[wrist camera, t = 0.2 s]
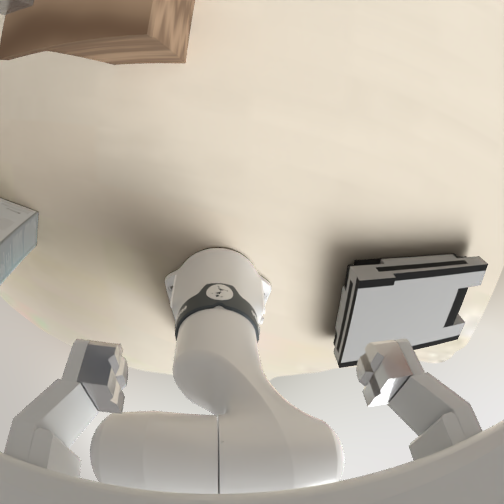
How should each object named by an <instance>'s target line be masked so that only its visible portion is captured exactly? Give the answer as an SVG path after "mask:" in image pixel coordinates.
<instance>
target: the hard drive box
mask: <svg viewBox="0 0 504 504" xmlns="http://www.w3.org/2000/svg"><path fill="white" fill-rule="evenodd" d="M37 228H38V212H37V211H34V210H31V209H28V208H26V207H23V206H21V205H18V204H15V203H12V202H10V201H7V200H4V199H2V198H0V285H1V284H2V283H3V282H4V281H5V279H6V278H7V277H8V276H9V275H10V274H11V273H12V271H13V270H14V269H15V268H16V267H17V266H18V265H19V264H20V263H21V261H22V260H23V259H24V258H25V257H26V256H27V255H28V254H29V253H30V252H31V251H32V250H33V249H34V248H35V247H36V245H37Z"/></svg>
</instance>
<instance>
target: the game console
mask: <svg viewBox="0 0 504 504" xmlns="http://www.w3.org/2000/svg"><path fill="white" fill-rule="evenodd" d="M487 265H488V263H486V262H485V261H484V260H483V259H482V258H481V257H479V256H477V257H466V256H465V257H458V256H456V255H455V254H444V255H429V256H415V257H400V258H384V259H368V260H355V262H354V265H348V268H347V274H346V281H345V286H343V288H342V294H341V300H340V306H339V311H338V316H337V321H336V327H335V329H336V334H335V339H334V345H335V348H334V354H335V357H336V360H337V362H338V365H339V368H341V367H348V366H354V365H357V362H358V360H359V358H360V357H361V356H362V355H364V354H365V353H366V352H365V347H366V346H367V344H369V343H370V342H378V341H386V340H397V339H407V340H408V341H409V342H410V344H411V346H412V348H413V350H415V349H420V348H424V347H429V346H433V345H437V344H441V343H445V342H449V341H453V340H456V339H458V337H459V335H460V333H461V331H462V329H463V326H464V324H465V322H464V321H463V319H462V318H461V317H460V316H459V314H458V312H459V310H460V307H461V305H462V302H463V300H464V297H465V295H466V292H467V289H468V287H472V286H478V285H481V283H482V280H483V277H484V274H485V271H486V268H487Z"/></svg>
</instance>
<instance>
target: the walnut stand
mask: <svg viewBox="0 0 504 504" xmlns="http://www.w3.org/2000/svg"><path fill="white" fill-rule="evenodd" d="M194 3H195V0H34V4H33V6H30V7H27V8H24V9H21V10H18V11H15V12H12V13H10V14H7V15H6V16H5V21H4V26H3V31H2V37H1V43H0V60H10V59H14V58H18V57H22V56H26V55H30V54H34V53H38V52H43V51H52V52H58V53H64V54H69V55H74V56H79V57H84V58H88V59H93V60H97V61H101V62H105V63H110V64H114V65H116V64H135V63H186V55H187V48H188V40H189V34H190V27H191V21H192V15H193V9H194Z"/></svg>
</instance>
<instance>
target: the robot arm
mask: <svg viewBox="0 0 504 504" xmlns="http://www.w3.org/2000/svg"><path fill="white" fill-rule="evenodd" d="M165 286H166V290H167V293H168V297H169V301H170V307H171V308H172V312H173V316H174V319H175V323H176V324H175V328H176V329H175V336H176V341H177V342H176V349H175V356H174V362H173V377H174V379H175V382H176V384H177V386H178V388H179V389H180V390H181V391H182V393H183V394H184V395H185V396H186V397H187V398H188V399H189V400H190V401H191V402H193V403H194V404H196V405H198V406H200V407H202V408H204V409H205V410H207V411H209V412H211V413H212V414H214V415H198V414H184V413H172V412H162V411H139V412H122V410H123V404H124V398H125V397H124V394H123V392H122V389H123V388H124V387H125V386H126V385H127V380H128V366H127V362H126V359H125V358H124V357H123V356H122V352H123V350H122V347H121V344H115V343H106V342H99V341H91V340H84V339H76V341H75V342H74V343H73V346H72V349H71V352H70V355H69V358H68V361H67V364H66V367H65V370H64V373H63V376H62V379H57V380H56V381H55V382H53V383H52V384H51V385H50V386H49V387H48V388H47V389H46V390H44V391H43V392H42V393H41V394H40V395H39V396H38V397H37V398H35V399H34V400H33V401H32V402H31V403H30V404H29V405H28V406H26V407H25V408H24V409H23V410H22V411H21V412H20V413H19V414H18V415H17V416H15V417H14V419H13V421H12V425H11V428H10V432H9V435H8V439H7V443H6V447H5V452H4V453H2V452H0V504H504V420H503V421H501V422H499V423H497V424H496V425H494V426H492V427H490V428H488V429H486V430H484V431H482V429H481V427H480V425H479V422H478V420H477V418H476V416H475V413H474V411H473V409H472V407H471V405H470V404H469V403H468V402H467V401H465V400H464V399H463V398H461V397H460V396H459V395H457V394H456V393H455V392H453V391H452V390H451V389H449V388H448V387H447V386H445V385H444V384H443V383H441V382H440V381H439V380H437V379H436V378H435V377H434V376H432V375H431V374H429V373H428V372H427V373H425V372H424V370H423V368H422V366H421V364H420V362H419V360H418V358H417V356H416V354H415V352H414V350H413V348H412V346H411V344H410V342H409V341H408V340H407V339H397V340H386V341H378V342H370V343H369V344H367V346H366V347H365V352H366V353H365V354H364V355H362V356H361V357H360V358H359V360H358V362H357V369H356V371H357V377H358V380H359V382H360V383H362V384H363V385H364V386H365V387H364V389H363V394H364V397H365V400H366V403H367V406H368V407H370V406H376V405H382V404H387V403H388V406H389V407H390V408H391V409H392V410H393V411H394V412H395V413H396V414H397V415H398V416H399V417H400V418H401V419H402V420H403V421H404V422H405V423H406V424H407V425H408V426H409V427H410V428H411V429H412V430H413V431H414V432H415V433H416V434H417V435H418V436H419V437H418V438H416V439H415V440H414V441H413V442H411V443H410V445H409V448H410V451H411V454H412V457H413V460H414V461H411V462H408V463H405V464H402V465H399V466H396V467H393V468H389V469H386V470H383V471H379V472H376V473H372V474H368V475H364V476H360V477H356V478H352V479H347V480H343V481H340V479H341V477H342V474H343V470H344V462H345V458H344V451H343V447H342V444H341V442H340V439H339V437H338V436H337V435H336V433H335V431H334V430H333V429H332V428H331V427H330V426H329V425H328V424H327V423H326V422H324V421H323V420H320V419H318V418H315V417H313V416H310V415H309V414H306V413H304V412H303V411H301V410H299V409H298V408H296V407H295V406H293V405H292V404H291V403H290V402H288V401H287V400H286V399H285V398H284V397H282V396H281V395H280V393H279V392H278V391H277V390H276V389H275V388H274V387H273V386H272V385H271V383H270V382H269V380H268V379H267V377H266V375H265V373H264V371H263V367H262V364H261V360H260V355H259V351H258V345H257V343H258V340H259V334H260V327H259V324H262V323H263V319H264V318H263V316H262V315H263V314H265V304H266V302H267V299H268V297H269V295H270V292H271V284H270V282H269V281H267V280H266V279H265V278H263V277H262V276H260V275H259V273H258V272H257V270H256V268H255V267H254V265H253V264H252V263H251V262H250V260H248V259H247V258H246V257H245V256H243V255H242V254H240V253H238V252H236V251H233V250H230V249H225V248H211V249H206V250H202V251H200V252H197V253H195V254H194V255H192V256H191V257H189V258H188V259H187V260H186V261H185V262H184V264H183V265H182V266H181V267H180V268H179V269H178V270H176V271H174V272H172V273H170V274H169V275H167V276H166V278H165ZM171 286H173V288H172V287H171ZM98 411H102V412H110V413H112V414H110V415H109V416H108V417H106V418H105V419H104V420H103V421H102V422H101V423H100V425H99V426H98V427H97V429H96V431H95V433H94V435H93V438H92V441H91V446H90V458H91V465H92V468H93V471H94V473H95V476H96V478H97V479H98V481H99V482H96V481H91V480H87V479H82V478H79V476H80V467H81V460H80V458H79V457H78V456H77V455H75V454H74V453H73V452H72V451H71V450H70V449H69V448H70V446H71V445H72V444H73V443H74V442H75V440H76V439H77V438H78V436H79V435H80V434H81V433H82V432H83V431H84V429H85V428H86V427H87V426H88V425H89V423H90V422H91V421H92V420H93V419H94V417H95V416H96V415H97V414H98Z"/></svg>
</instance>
